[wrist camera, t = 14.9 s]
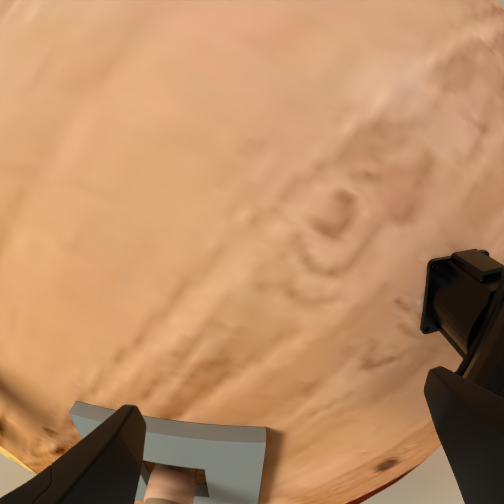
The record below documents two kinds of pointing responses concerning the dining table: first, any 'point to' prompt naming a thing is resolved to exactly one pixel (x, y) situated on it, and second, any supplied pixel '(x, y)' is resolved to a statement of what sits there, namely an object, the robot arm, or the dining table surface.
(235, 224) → the dining table surface
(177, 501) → the lidded jar
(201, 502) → the slotted shelf board
